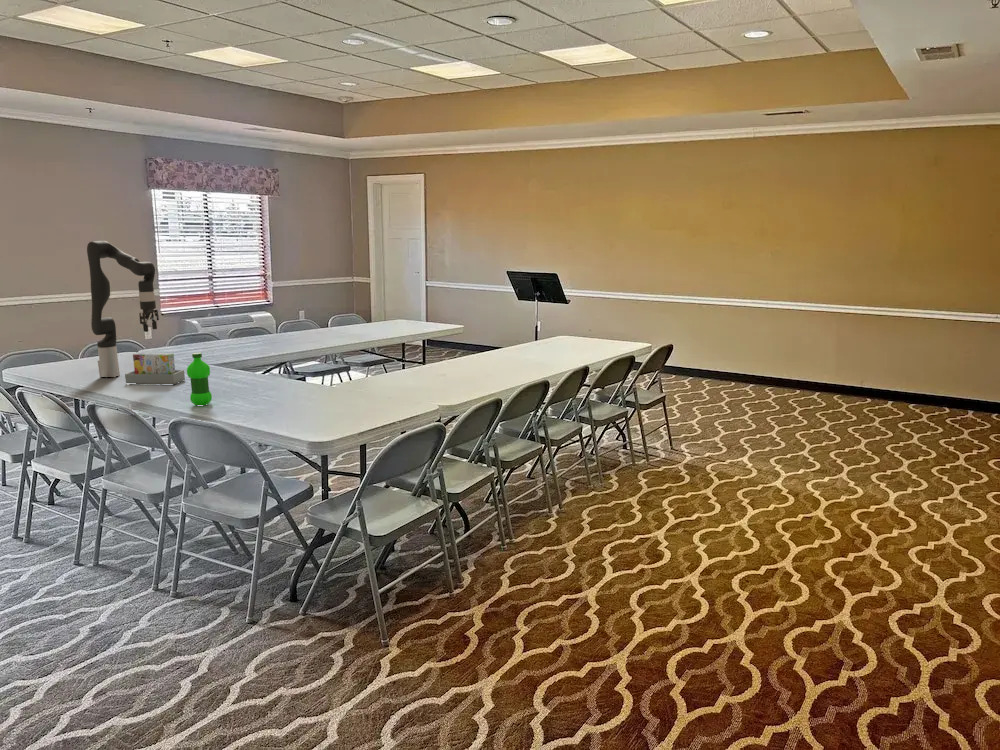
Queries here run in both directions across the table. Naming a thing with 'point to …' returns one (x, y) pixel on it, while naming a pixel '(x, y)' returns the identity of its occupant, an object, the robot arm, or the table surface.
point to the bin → (155, 378)
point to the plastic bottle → (199, 380)
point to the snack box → (154, 363)
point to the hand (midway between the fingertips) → (150, 330)
